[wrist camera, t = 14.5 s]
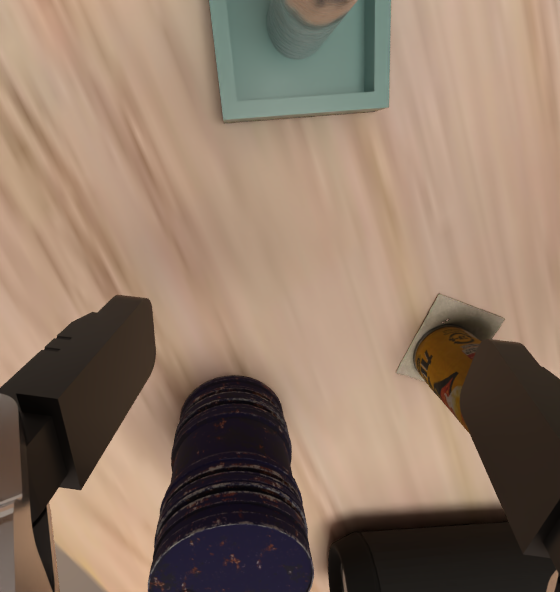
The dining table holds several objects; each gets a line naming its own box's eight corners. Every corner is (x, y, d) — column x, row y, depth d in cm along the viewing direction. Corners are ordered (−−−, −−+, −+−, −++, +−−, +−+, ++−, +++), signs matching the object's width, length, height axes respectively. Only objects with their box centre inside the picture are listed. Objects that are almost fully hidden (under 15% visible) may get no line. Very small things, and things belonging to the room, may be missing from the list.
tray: (374, -79, 25) (393, -108, 22) (373, 111, 28) (388, 107, 26) (200, -73, 24) (196, -103, 21) (224, 123, 28) (223, 119, 25)
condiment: (395, 371, 37) (466, 467, 26) (437, 293, 34) (537, 360, 23) (457, 391, 38) (550, 488, 27) (502, 317, 36) (624, 390, 25)
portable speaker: (322, 573, 46) (345, 681, 36) (331, 511, 42) (359, 612, 33) (518, 557, 49) (586, 652, 40) (541, 498, 46) (620, 587, 36)
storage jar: (269, 361, 35) (294, 500, 21) (295, 444, 38) (331, 610, 24) (162, 392, 35) (116, 554, 21) (198, 472, 38) (179, 656, 24)
